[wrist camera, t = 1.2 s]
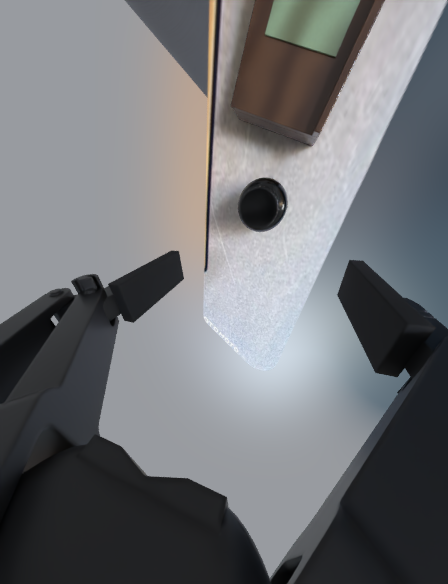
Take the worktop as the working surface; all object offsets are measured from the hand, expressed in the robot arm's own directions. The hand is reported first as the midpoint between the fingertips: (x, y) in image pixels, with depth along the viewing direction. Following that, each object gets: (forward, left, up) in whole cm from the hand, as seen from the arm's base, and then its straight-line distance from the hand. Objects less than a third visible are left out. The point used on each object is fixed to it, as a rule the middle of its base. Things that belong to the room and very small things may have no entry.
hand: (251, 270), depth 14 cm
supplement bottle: (-2, +3, -23) cm, 23 cm away
